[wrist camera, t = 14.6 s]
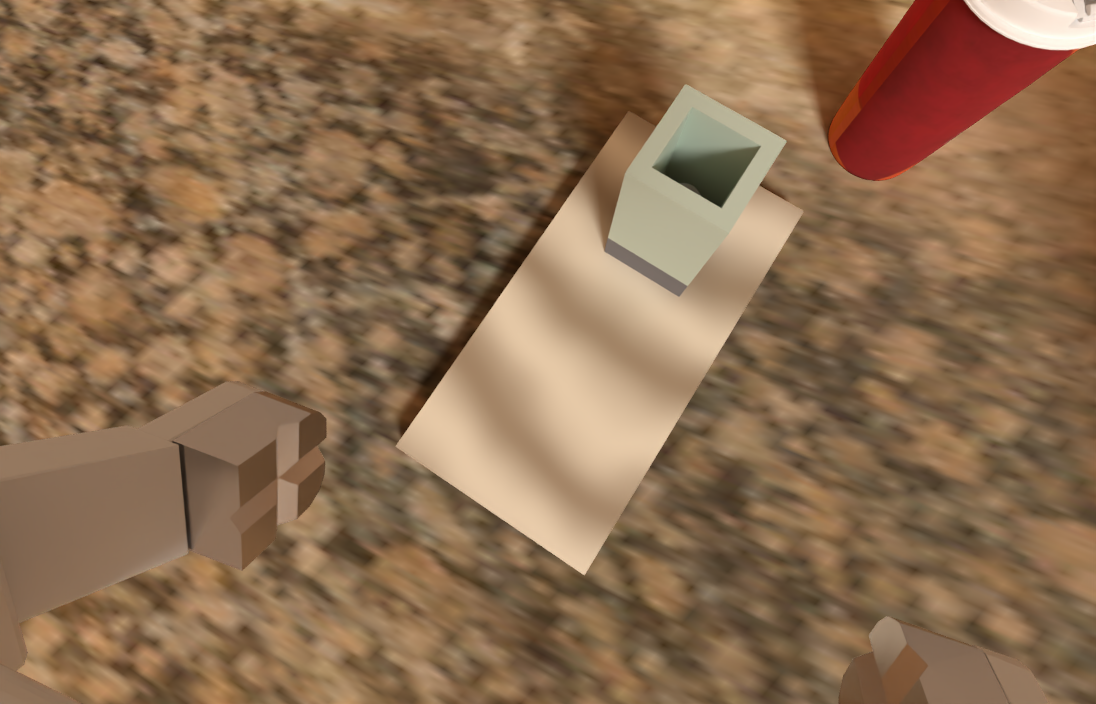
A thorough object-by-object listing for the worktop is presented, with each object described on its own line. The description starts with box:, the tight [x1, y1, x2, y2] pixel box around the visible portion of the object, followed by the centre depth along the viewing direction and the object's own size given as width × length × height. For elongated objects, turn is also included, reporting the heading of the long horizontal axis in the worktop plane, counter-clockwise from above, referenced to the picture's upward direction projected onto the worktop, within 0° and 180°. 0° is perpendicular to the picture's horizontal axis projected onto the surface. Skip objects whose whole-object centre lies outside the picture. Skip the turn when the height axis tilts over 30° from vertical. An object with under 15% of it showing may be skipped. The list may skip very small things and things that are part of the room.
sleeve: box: [604, 84, 787, 297], centre depth 29 cm, size 5×5×9 cm
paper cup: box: [828, 0, 1096, 181], centre depth 29 cm, size 8×8×14 cm
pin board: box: [396, 111, 804, 575], centre depth 30 cm, size 24×12×6 cm, turn 147°
